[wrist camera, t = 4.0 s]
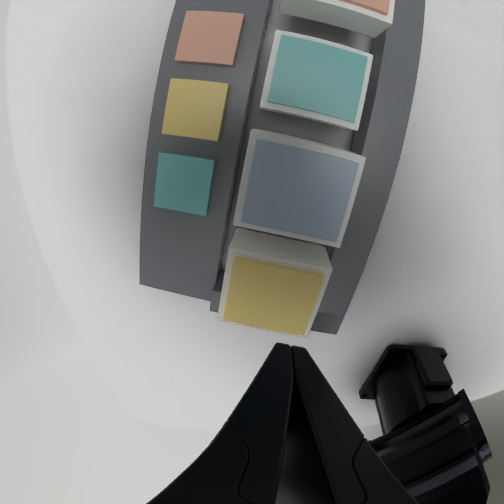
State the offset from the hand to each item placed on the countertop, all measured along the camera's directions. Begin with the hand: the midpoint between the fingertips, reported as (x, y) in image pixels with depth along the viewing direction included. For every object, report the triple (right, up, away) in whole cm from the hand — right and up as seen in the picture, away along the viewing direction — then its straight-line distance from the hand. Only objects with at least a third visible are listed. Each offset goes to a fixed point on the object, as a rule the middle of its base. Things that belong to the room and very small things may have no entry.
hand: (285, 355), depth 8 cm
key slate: (+1, +7, +6) cm, 9 cm away
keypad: (+1, +10, +7) cm, 12 cm away
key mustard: (0, +2, +8) cm, 9 cm away
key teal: (+2, +12, +6) cm, 14 cm away
